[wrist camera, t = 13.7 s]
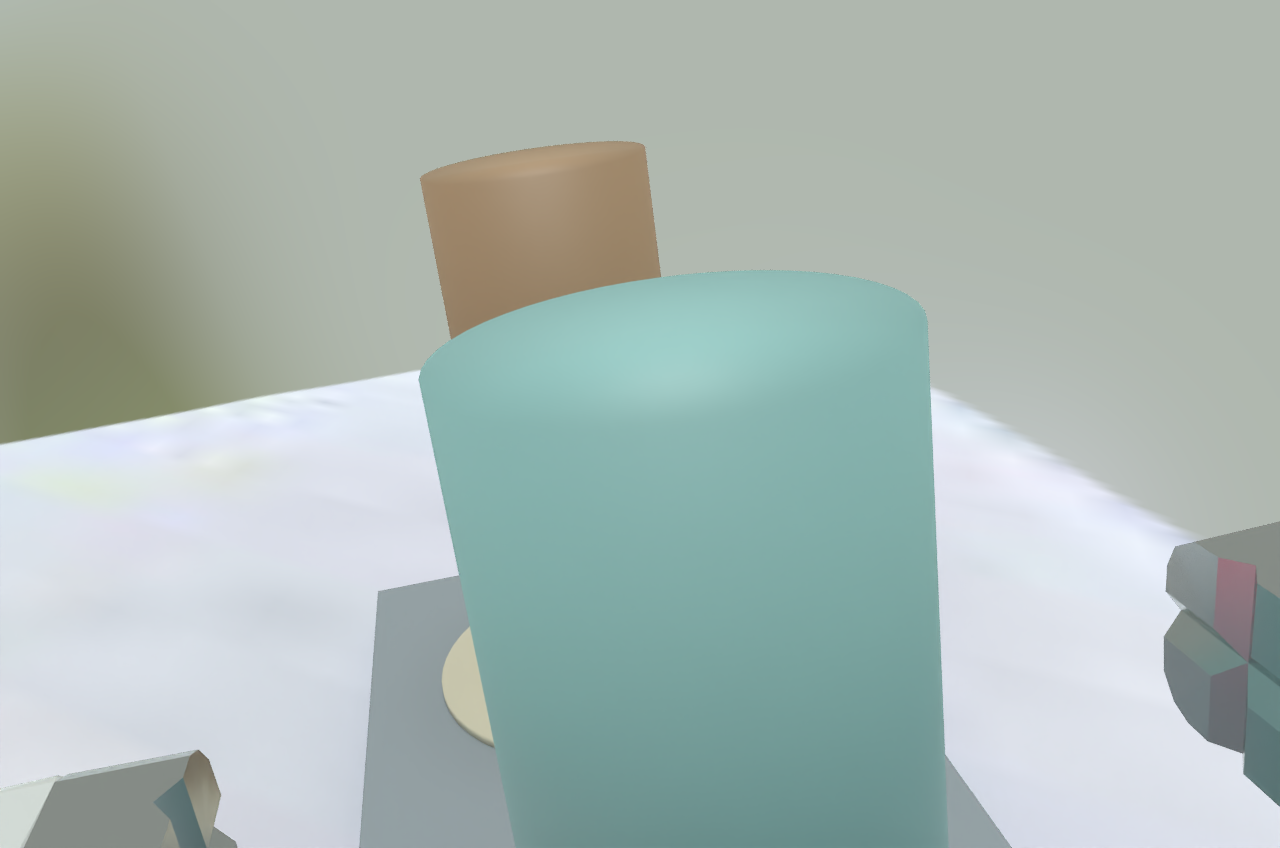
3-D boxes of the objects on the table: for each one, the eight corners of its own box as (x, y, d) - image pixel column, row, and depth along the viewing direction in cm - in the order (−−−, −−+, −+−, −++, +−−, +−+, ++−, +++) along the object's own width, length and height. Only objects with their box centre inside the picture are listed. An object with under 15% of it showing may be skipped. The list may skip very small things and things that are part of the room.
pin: (628, 1462, 11) (417, 474, 7) (576, 1087, 14) (420, 317, 11) (1034, 1345, 11) (1025, 363, 8) (881, 1010, 15) (827, 249, 11)
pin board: (306, 2216, 8) (-456, 957, 4) (388, 634, 28) (278, 169, 24) (1571, 1748, 9) (1974, 428, 5) (777, 555, 30) (733, 101, 26)
